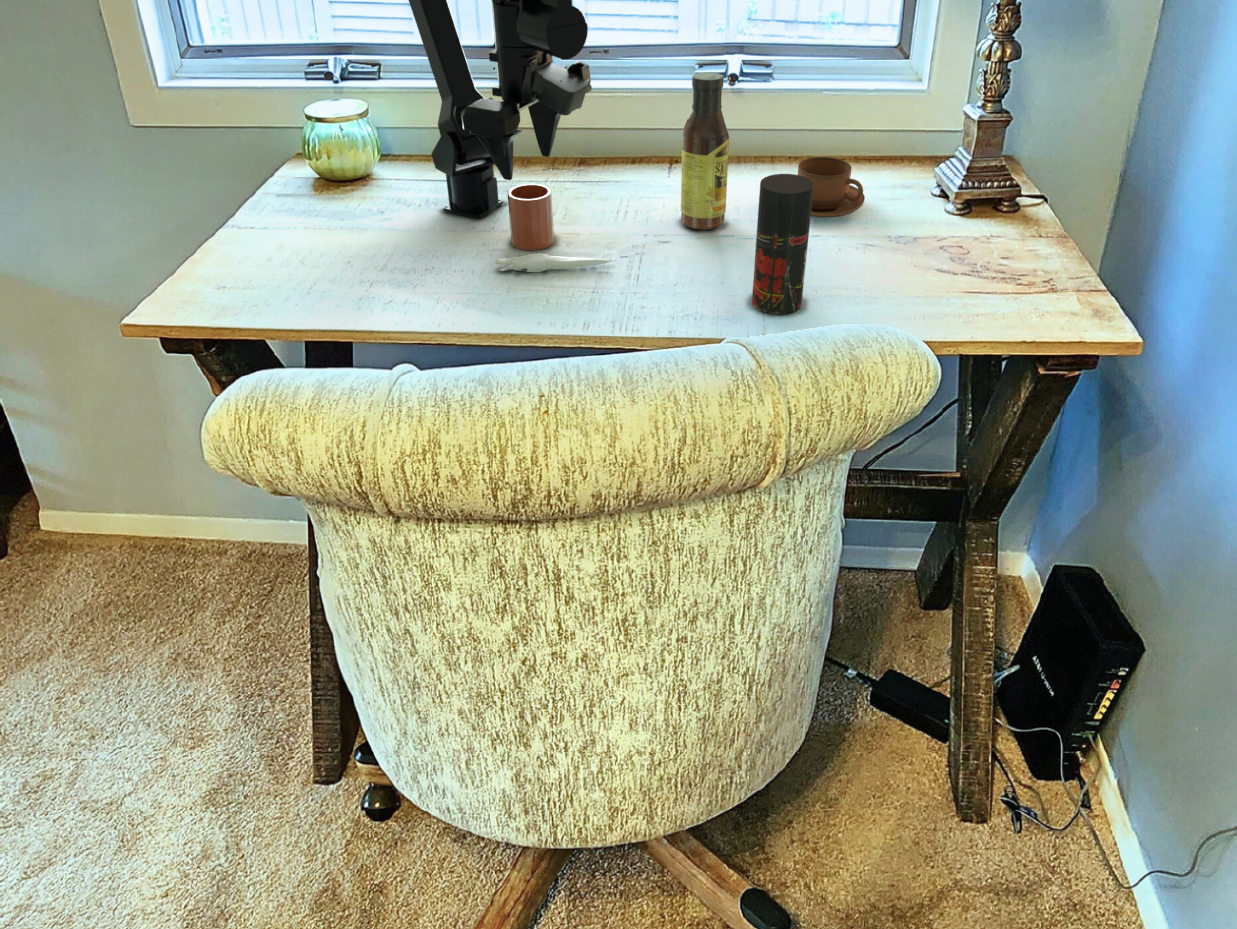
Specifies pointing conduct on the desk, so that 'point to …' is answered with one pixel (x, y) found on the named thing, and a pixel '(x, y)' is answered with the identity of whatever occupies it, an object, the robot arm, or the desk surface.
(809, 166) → the cup and saucer
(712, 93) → the sauce bottle
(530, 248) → the cup
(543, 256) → the white elongated piece
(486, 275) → the desk surface
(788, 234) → the deodorant
